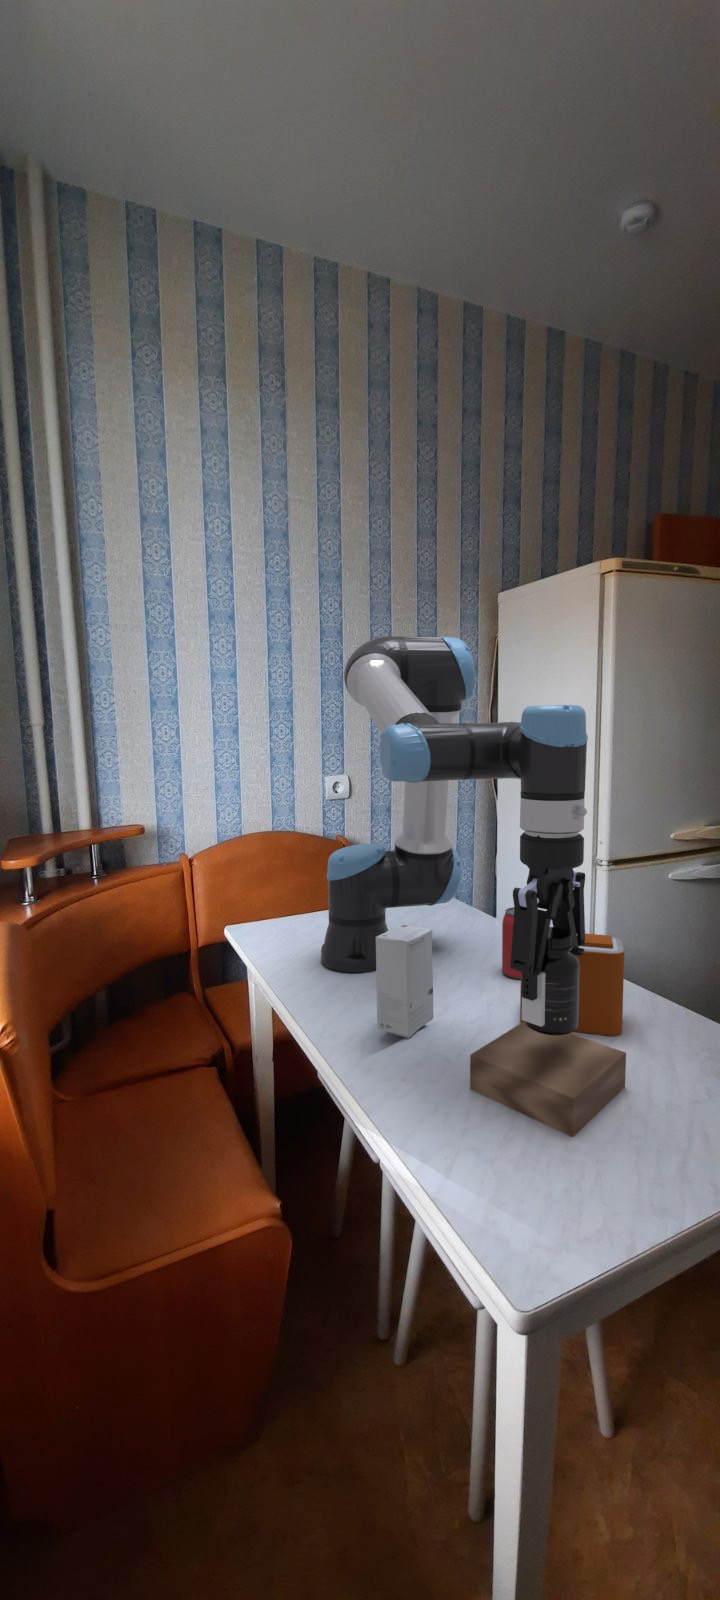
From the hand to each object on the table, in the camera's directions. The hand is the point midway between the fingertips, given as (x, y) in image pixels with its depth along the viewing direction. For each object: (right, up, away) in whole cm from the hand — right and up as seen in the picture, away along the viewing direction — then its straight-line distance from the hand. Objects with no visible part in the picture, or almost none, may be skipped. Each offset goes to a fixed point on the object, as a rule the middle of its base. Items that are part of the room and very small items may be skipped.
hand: (548, 1012), depth 81 cm
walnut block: (0, -10, +1) cm, 11 cm away
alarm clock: (+9, -8, +20) cm, 24 cm away
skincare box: (-17, -8, +20) cm, 27 cm away
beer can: (+6, -6, +39) cm, 40 cm away
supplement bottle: (0, -2, 0) cm, 2 cm away
